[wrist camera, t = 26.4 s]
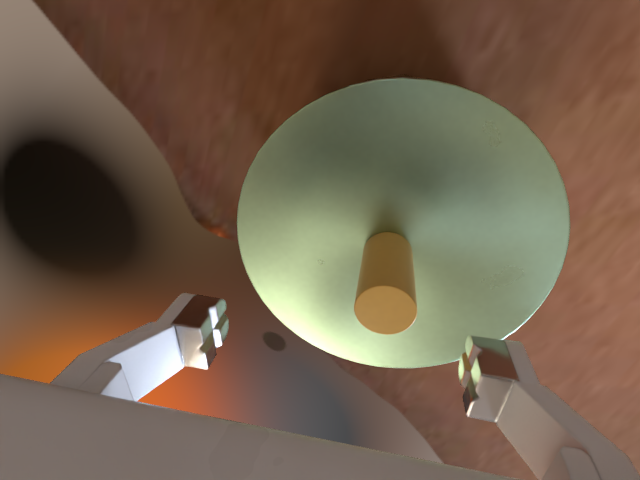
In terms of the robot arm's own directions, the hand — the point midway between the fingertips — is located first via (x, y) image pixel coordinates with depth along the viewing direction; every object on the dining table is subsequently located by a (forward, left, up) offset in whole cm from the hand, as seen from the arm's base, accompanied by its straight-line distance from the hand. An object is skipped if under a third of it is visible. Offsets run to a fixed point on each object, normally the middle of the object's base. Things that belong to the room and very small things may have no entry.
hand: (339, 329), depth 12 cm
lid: (-1, +1, -7) cm, 7 cm away
